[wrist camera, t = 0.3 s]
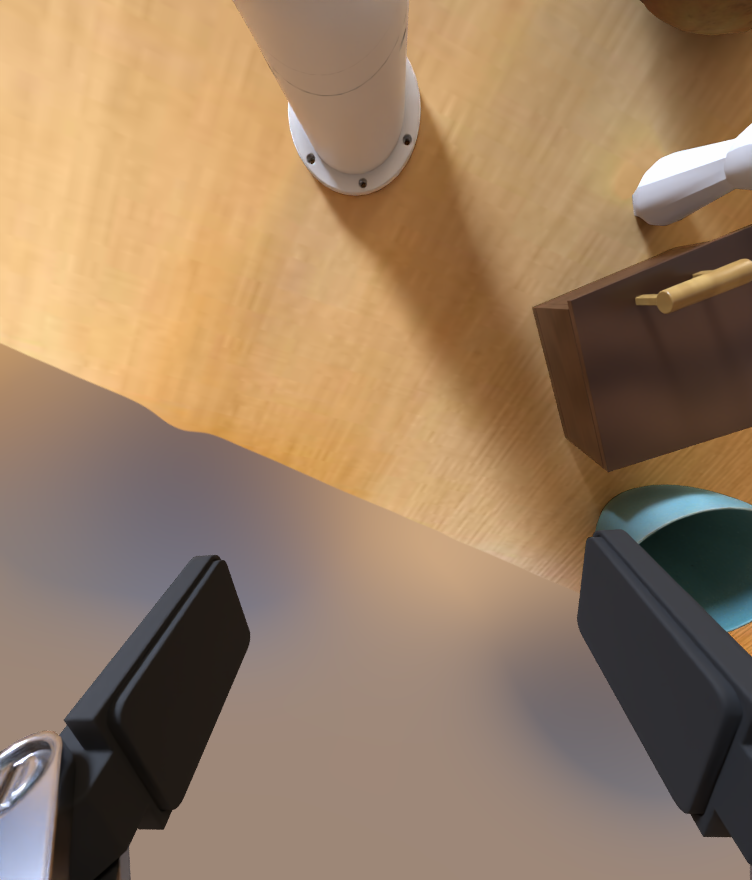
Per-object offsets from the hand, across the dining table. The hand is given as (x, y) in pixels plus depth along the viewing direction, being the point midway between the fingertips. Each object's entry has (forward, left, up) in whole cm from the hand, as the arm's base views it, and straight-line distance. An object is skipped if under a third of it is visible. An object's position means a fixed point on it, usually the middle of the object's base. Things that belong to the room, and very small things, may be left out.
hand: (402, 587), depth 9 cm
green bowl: (+25, +30, -36) cm, 53 cm away
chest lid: (+2, +25, -27) cm, 37 cm away
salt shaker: (-13, +27, -36) cm, 47 cm away
